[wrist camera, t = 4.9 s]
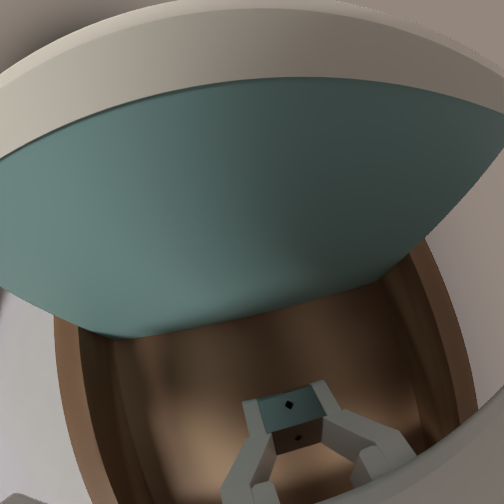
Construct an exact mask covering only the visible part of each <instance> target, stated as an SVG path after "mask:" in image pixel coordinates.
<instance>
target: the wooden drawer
mask: <svg viewBox="0 0 504 504" xmlns="http://www.w3.org/2000/svg"><path fill="white" fill-rule="evenodd" d="M54 338H55V353H56V364H57V372H58V380H59V387H60V393H61V399H62V405H63V410H64V415H65V420H66V424H67V428H68V432H69V436H70V440H71V444H72V447H73V451H74V454H75V457H76V461H77V464H78V467H79V470H80V473H81V475H82V478H83V481H84V483H85V486H86V489H87V491H88V494H89V496H90V498H91V501H92V503H93V504H222V499H221V493H220V488H221V486H222V484H223V482H224V480H225V478H226V477H227V475H228V473H229V471H230V469H231V467H232V465H233V463H234V461H235V460H236V458H237V456H238V454H239V452H240V450H241V448H242V446H243V444H244V442H245V440H246V439H247V438H250V435H249V431H248V427H247V423H246V418H245V414H244V410H243V406H242V401H247V400H252V399H256V398H261V397H265V396H270V395H274V394H278V393H282V392H284V391H287V390H291V389H294V388H297V387H300V386H303V385H307V384H311V383H314V382H317V381H320V380H324V381H325V382H326V384H327V386H328V387H329V389H330V391H331V392H332V394H333V396H334V397H335V399H336V401H337V403H338V404H339V406H340V408H341V409H342V410H344V409H347V410H350V411H352V412H354V413H356V414H359V415H361V416H363V417H366V418H368V419H370V420H373V421H375V422H378V423H380V424H383V425H385V426H388V427H390V428H393V429H396V430H398V431H400V433H401V434H402V436H403V437H404V438H405V440H406V441H407V443H408V444H409V445H410V447H411V448H412V450H413V451H414V452H415V454H416V455H417V456H418V455H419V454H421V453H423V452H424V451H426V450H427V449H429V448H430V447H432V446H433V445H434V444H436V443H437V442H439V441H440V440H442V439H443V438H444V437H446V436H447V435H448V434H450V433H451V432H452V431H454V430H455V429H456V428H457V427H459V426H460V425H461V424H462V423H464V422H465V421H466V420H467V419H468V418H470V417H471V416H472V415H473V414H474V413H475V412H476V411H478V406H477V399H476V393H475V387H474V382H473V377H472V372H471V368H470V363H469V359H468V355H467V351H466V347H465V344H464V340H463V336H462V333H461V329H460V326H459V323H458V320H457V317H456V314H455V311H454V308H453V305H452V302H451V300H450V297H449V294H448V291H447V289H446V286H445V283H444V281H443V278H442V276H441V274H440V271H439V269H438V266H437V264H436V262H435V260H434V257H433V255H432V253H431V251H430V249H429V246H428V244H427V242H426V240H425V238H424V239H423V240H422V241H421V242H420V243H419V244H418V245H417V246H415V247H414V248H413V249H412V250H411V251H410V252H409V253H408V254H407V255H406V256H405V257H404V258H403V259H401V260H400V261H399V262H398V263H397V264H396V265H395V266H394V267H393V268H391V269H390V270H389V271H388V272H387V273H386V274H385V275H383V276H382V277H381V278H380V279H379V280H378V281H376V282H373V283H370V284H367V285H364V286H360V287H357V288H354V289H350V290H347V291H344V292H340V293H337V294H333V295H330V296H326V297H323V298H319V299H316V300H312V301H308V302H305V303H301V304H297V305H293V306H289V307H285V308H281V309H277V310H273V311H269V312H265V313H261V314H257V315H253V316H248V317H244V318H239V319H235V320H230V321H226V322H221V323H216V324H211V325H206V326H201V327H196V328H191V329H186V330H181V331H175V332H170V333H164V334H158V335H152V336H146V337H139V338H133V339H126V340H119V341H115V340H112V339H110V338H107V337H104V336H102V335H99V334H97V333H94V332H92V331H89V330H87V329H84V328H82V327H80V326H77V325H75V324H73V323H70V322H68V321H66V320H64V319H61V318H59V317H57V316H55V315H54ZM256 400H257V399H256ZM354 466H355V463H353V462H351V461H350V460H348V459H346V458H345V457H343V456H341V455H340V454H338V453H336V452H335V451H333V450H331V449H330V448H328V447H327V446H325V445H324V444H322V443H321V442H320V443H317V444H314V445H311V446H307V447H304V448H300V449H297V450H294V451H291V452H288V453H284V454H281V455H277V458H276V461H275V464H274V467H273V470H272V472H271V475H270V478H269V481H268V482H271V483H273V484H274V486H275V489H276V493H277V495H278V498H279V501H280V504H315V503H318V502H321V501H324V500H327V499H330V498H332V497H335V496H338V495H340V494H343V493H345V492H348V491H350V490H353V489H354V487H353V485H352V483H351V481H350V479H349V478H350V476H351V474H352V471H353V469H354Z"/></svg>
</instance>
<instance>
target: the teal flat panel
mask: <svg viewBox="0 0 504 504" xmlns="http://www.w3.org/2000/svg"><path fill="white" fill-rule="evenodd" d="M503 148H504V69H502V68H501V67H499V66H498V65H496V64H495V63H493V62H492V61H490V60H489V59H487V58H485V57H483V56H482V55H480V54H479V53H477V52H475V51H473V50H472V49H470V48H468V47H466V46H464V45H463V44H460V43H459V42H457V41H455V40H453V39H451V38H449V37H447V36H444V35H442V34H440V33H438V32H436V31H434V30H431V29H429V28H427V27H424V26H421V25H419V24H417V23H414V22H411V21H409V20H406V19H403V18H400V17H397V16H394V15H391V14H387V13H384V12H381V11H377V10H374V9H370V8H365V7H362V6H358V5H354V4H349V3H344V2H338V1H333V0H178V1H172V2H167V3H162V4H158V5H154V6H149V7H145V8H141V9H137V10H134V11H130V12H127V13H124V14H120V15H117V16H114V17H111V18H108V19H105V20H103V21H100V22H98V23H94V24H92V25H89V26H87V27H84V28H82V29H80V30H77V31H75V32H73V33H71V34H69V35H66V36H64V37H62V38H60V39H58V40H56V41H54V42H52V43H50V44H48V45H46V46H44V47H43V48H41V49H39V50H38V51H36V52H34V53H32V54H30V55H29V56H27V57H26V58H24V59H22V60H21V61H19V62H17V63H16V64H14V65H13V66H11V67H10V68H8V69H7V70H6V71H4V72H3V73H1V74H0V287H2V288H3V289H5V290H7V291H9V292H10V293H12V294H14V295H16V296H17V297H19V298H21V299H23V300H25V301H27V302H29V303H30V304H32V305H34V306H36V307H38V308H40V309H42V310H44V311H46V312H48V313H51V314H53V315H55V316H57V317H59V318H61V319H64V320H66V321H68V322H70V323H73V324H75V325H77V326H80V327H82V328H84V329H87V330H89V331H92V332H94V333H97V334H99V335H102V336H104V337H107V338H110V339H112V340H115V341H119V340H126V339H133V338H139V337H146V336H152V335H158V334H164V333H170V332H175V331H181V330H186V329H191V328H196V327H201V326H206V325H211V324H216V323H221V322H226V321H230V320H235V319H239V318H244V317H248V316H253V315H257V314H261V313H265V312H269V311H273V310H277V309H281V308H285V307H289V306H293V305H297V304H301V303H305V302H308V301H312V300H316V299H319V298H323V297H326V296H330V295H333V294H337V293H340V292H344V291H347V290H350V289H354V288H357V287H360V286H364V285H367V284H370V283H373V282H376V281H378V280H379V279H380V278H381V277H382V276H383V275H385V274H386V273H387V272H388V271H389V270H390V269H391V268H393V267H394V266H395V265H396V264H397V263H398V262H399V261H400V260H401V259H403V258H404V257H405V256H406V255H407V254H408V253H409V252H410V251H411V250H412V249H413V248H414V247H415V246H417V245H418V244H419V243H420V242H421V241H422V240H423V239H424V238H425V237H426V236H427V235H428V234H429V233H430V232H431V231H432V230H433V229H434V228H435V227H436V226H437V225H438V223H440V222H441V221H442V219H444V218H445V217H446V215H447V214H448V213H449V212H450V211H451V210H452V209H453V208H454V207H455V206H456V205H457V204H458V203H459V201H460V200H461V199H462V198H463V197H464V196H465V195H466V194H467V192H468V191H469V190H470V189H471V188H472V187H473V186H474V184H475V183H476V182H477V181H478V180H479V178H480V177H481V176H482V175H483V173H484V172H485V171H486V170H487V169H488V167H489V166H490V165H491V163H492V162H493V161H494V160H495V158H496V157H497V156H498V154H499V153H500V152H501V150H502V149H503Z"/></svg>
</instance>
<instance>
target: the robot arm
mask: <svg viewBox="0 0 504 504" xmlns="http://www.w3.org/2000/svg"><path fill="white" fill-rule="evenodd" d="M256 399H257V400H256ZM256 399H252V400H247V401H242V406H243V410H244V414H245V418H246V423H247V427H248V431H249V435H250V438H247V439H246V440H245V442H244V444H243V446H242V448H241V450H240V452H239V454H238V456H237V458H236V460H235V461H234V463H233V465H232V467H231V469H230V471H229V473H228V475H227V477H226V478H225V480H224V482H223V484H222V486H221V488H220V493H221V499H222V504H280V501H279V498H278V495H277V493H276V489H275V486H274V484H273V483H271V482H268V481H269V478H270V475H271V472H272V470H273V467H274V464H275V461H276V458H277V455H281V454H284V453H288V452H291V451H294V450H297V449H300V448H304V447H307V446H311V445H314V444H317V443H320V442H321V443H322V444H324V445H325V446H327V447H328V448H330V449H331V450H333V451H335V452H336V453H338V454H340V455H341V456H343V457H345V458H346V459H348V460H350V461H351V462H353V463H355V466H354V469H353V471H352V474H351V476H350V478H349V479H350V481H351V483H352V485H353V487H354V489H353V490H350V491H348V492H345V493H343V494H340V495H338V496H335V497H332V498H330V499H327V500H324V501H321V502H318V503H315V504H504V385H503V387H501V388H500V390H499V391H498V392H497V393H496V394H495V395H494V396H493V397H492V398H490V400H488V401H487V403H485V404H484V405H483V406H482V407H481V408H480V409H479V410H478V411H476V412H475V413H474V414H473V415H472V416H471V417H470V418H468V419H467V420H466V421H465V422H464V423H462V424H461V425H460V426H459V427H457V428H456V429H455V430H454V431H452V432H451V433H450V434H448V435H447V436H446V437H444V438H443V439H442V440H440V441H439V442H437V443H436V444H434V445H433V446H432V447H430V448H429V449H427V450H426V451H424V452H423V453H421V454H419V455H418V456H417V455H416V454H415V452H414V451H413V450H412V448H411V447H410V445H409V444H408V443H407V441H406V440H405V438H404V437H403V436H402V434H401V433H400V431H398V430H396V429H393V428H390V427H388V426H385V425H383V424H380V423H378V422H375V421H373V420H370V419H368V418H366V417H363V416H361V415H359V414H356V413H354V412H352V411H350V410H347V409H344V410H342V409H341V408H340V406H339V404H338V403H337V401H336V399H335V397H334V396H333V394H332V392H331V391H330V389H329V387H328V386H327V384H326V382H325V381H324V380H320V381H317V382H314V383H311V384H307V385H303V386H300V387H297V388H294V389H291V390H287V391H284V392H282V393H278V394H274V395H270V396H265V397H261V398H256ZM0 504H47V503H44V502H41V501H39V500H36V499H33V498H31V497H28V496H26V495H24V494H20V493H14V494H12V495H10V496H9V497H7V498H6V499H5V500H3V501H2V502H1V503H0Z"/></svg>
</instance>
